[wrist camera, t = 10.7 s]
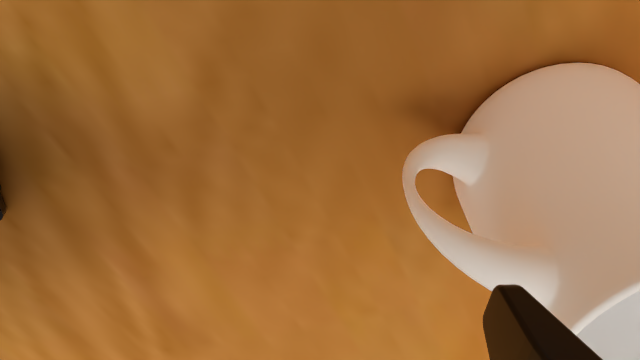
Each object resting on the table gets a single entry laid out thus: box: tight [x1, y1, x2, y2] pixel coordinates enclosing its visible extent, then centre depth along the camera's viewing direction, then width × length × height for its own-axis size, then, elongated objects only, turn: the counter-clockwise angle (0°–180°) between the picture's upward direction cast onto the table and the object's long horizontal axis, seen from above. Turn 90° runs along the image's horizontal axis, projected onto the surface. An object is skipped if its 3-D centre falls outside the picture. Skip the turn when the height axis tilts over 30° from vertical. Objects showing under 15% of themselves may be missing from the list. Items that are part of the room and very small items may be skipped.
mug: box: [402, 63, 640, 360], centre depth 19 cm, size 9×12×11 cm
